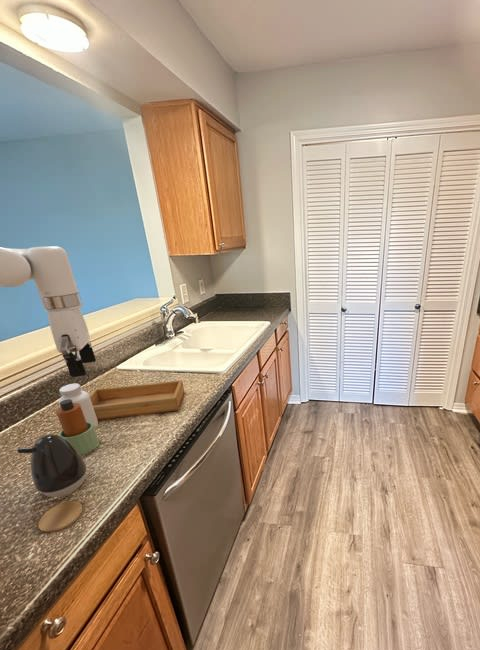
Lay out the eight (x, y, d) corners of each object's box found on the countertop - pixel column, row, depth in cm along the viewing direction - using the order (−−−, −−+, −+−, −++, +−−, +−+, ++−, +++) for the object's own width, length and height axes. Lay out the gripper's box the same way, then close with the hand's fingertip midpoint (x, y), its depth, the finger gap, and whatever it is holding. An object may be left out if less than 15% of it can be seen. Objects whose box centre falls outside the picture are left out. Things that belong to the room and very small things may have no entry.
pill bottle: (87, 436, 100) (71, 393, 93) (64, 435, 101) (46, 393, 94) (104, 421, 107) (90, 381, 100) (83, 421, 108) (67, 380, 102)
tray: (184, 392, 125) (181, 378, 123) (178, 411, 111) (175, 397, 109) (99, 402, 120) (94, 389, 118) (81, 424, 106) (76, 409, 104)
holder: (62, 460, 89) (54, 441, 86) (70, 444, 96) (63, 425, 94) (96, 452, 92) (90, 433, 89) (102, 437, 99) (95, 418, 96)
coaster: (33, 537, 66) (32, 536, 66) (45, 509, 73) (45, 507, 73) (78, 524, 69) (77, 522, 68) (86, 498, 76) (85, 496, 75)
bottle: (69, 455, 90) (50, 408, 84) (74, 444, 95) (56, 399, 89) (91, 449, 92) (75, 403, 86) (95, 439, 97) (79, 395, 91)
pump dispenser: (39, 488, 79) (14, 436, 73) (87, 468, 85) (68, 419, 79) (41, 512, 72) (15, 457, 66) (94, 489, 78) (74, 436, 72)
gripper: (56, 297, 83) (77, 359, 90) (28, 311, 68) (55, 384, 74) (89, 294, 85) (107, 355, 92) (69, 307, 70) (92, 379, 76)
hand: (84, 368), depth 83 cm, fingers open, 9 cm apart
